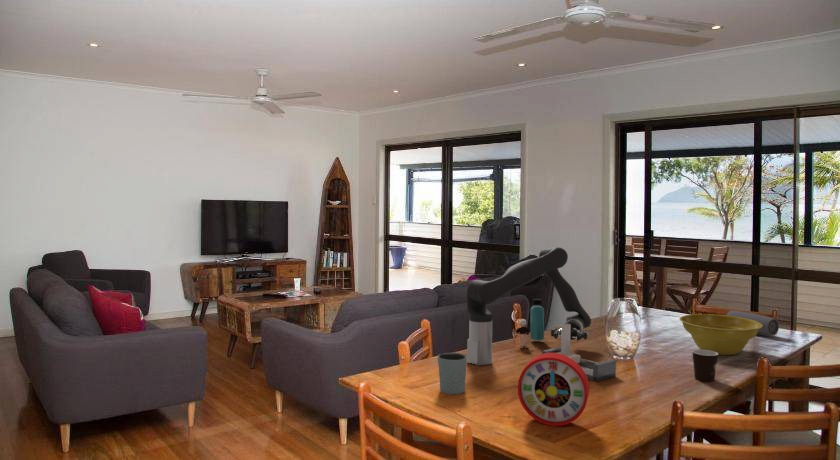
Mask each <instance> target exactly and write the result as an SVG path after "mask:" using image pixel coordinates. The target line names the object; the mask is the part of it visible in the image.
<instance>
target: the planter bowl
mask: <svg viewBox="0 0 840 460" xmlns="http://www.w3.org/2000/svg"><path fill="white" fill-rule="evenodd" d="M679 321H680V322H681V323H682V326H683V328H684V330H685V331H686V332H687V333H689V334H690V336H691V338H692V340H693V342H694V343H695V345H696V347H698V348H699V350H709V351H714V352H717V353H718V356H719V355H720V356H733V355H737V354H739V353H741V352H742V351H743V350H744V349H745V347H746V345H747V344H748V343H749V340H752V339H753V338H755V337H756V336H758V335H757V333H758V331H759V329H760V328H762V327H763V325H762V324H761V323H759V322H757V321H754V320H750V319H746V318H741V317H735V316H727V314H725V315H724V314H716V313H715V314H711V313H710V314H709V313H695V314H694V313H693V314H686V315H682V316H680V317H679Z"/></svg>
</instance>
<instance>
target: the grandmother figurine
mask: <svg viewBox="0 0 840 460" xmlns="http://www.w3.org/2000/svg"><path fill="white" fill-rule="evenodd" d="M518 324H519V326H520V327H517V328H516V329H515V332H514V336H515V337H516V336H517V335H518V349H519V348H520V349H523V348H525V349H528V348H529V344H528V343H529V342H528V336H529V337H530V336H531V333H530V328H528V327H526V325H527V320H526V319H524V318H521V319H519V322H518Z"/></svg>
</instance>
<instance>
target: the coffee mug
mask: <svg viewBox="0 0 840 460" xmlns="http://www.w3.org/2000/svg"><path fill="white" fill-rule="evenodd" d="M691 355H692V361H693V373H694V380H695V381H698V382H702V383H703V382H704V383H714V382H715V378H716V377H715V376H716V371H717V366H718V365H717V364H718V358H719V355H718V353H717V352H714V351H709V350H701V349H694V350H692V354H691ZM713 381H714V382H713Z"/></svg>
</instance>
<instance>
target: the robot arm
mask: <svg viewBox="0 0 840 460" xmlns="http://www.w3.org/2000/svg"><path fill="white" fill-rule="evenodd" d="M568 256H569V255H568V253H567V251H566V250H565V249H564V248H562V247H560V246H559V247H558V246H554V247H546V248H543V249H541V250H540V252H539V254H538V257H536V258H531V259H526V260H523V261H519V262H518V263H515V264H514V265H511V266H509V267H508V268H507V269H506V270H505V272H504V273H503V275H501V277H498V278H496V279H493V280H489V281H487V280H481V279H474V280H471V281H470V282H469V284H468V286H467V288H466V305H467V307H466V309H467V314H468V317H469V321H468V322H469V324H468V325H469V327H468V328H469V329H468V331H469V332H468V333H469V337H468V338H467V340H466V341H467V343H466V345H467V346H466V347H467V348H466V349H467V350H466V354H467V355H466V356H467V364H471V363H472V364H471V365H474V364H475V366H487V365H491V364H492V363H493V313H492V312H491V311H490V310H489V309H488V307H487V306H486V305H490V304H492V303H494V302H495V301H497V300H499V299H500V298H501V297H504V295H507V294H508V293H510V292H512V291H514V290H516V289H518V288H521V287H523V286H525V285H527V284H528V283H531V282H532V281H534V280H536V279H538V278H540V277H542V276H543V275H545V274H546V275H547V277H548V279H549V280H550V281H551V284H552V285H553V286H554V288H555V290H556V292H557V294H558V296H559V299H560V302H561V304H562V306H563V308H564V310H565V312H567V313H568V312H569V313H571V312H573V313H574V312H575V313H574V314H571V315H568V316H567V317H566V318H565V319H566V320H565V321H566V322H564V324H570V325H571V332H570V341H574V340H576V341H577V342H578V341H580V340H583V339H584V340H587V339H588V337H589V336H588V335H589V330H588V329H586V328H589V327H591V325H592V319H591V317H590V315H589V314H588V313H587V311H586V310H585V308H584V307H583V306H582V304H581V303H580V301H579V299H578V296H577V294H576V291H575V289H574V288H573V287H572V285H571V284H570V283H569V282H568V281H567V280H566V279H565V278H564V277H563V275H562V274H561V273H560V271H559V269H560V268H563V267H564V266H566V264H567V262H568V259H569V257H568ZM550 337H553V338H554V339H558V338H561V328H558V327H553V328H551V330H550Z"/></svg>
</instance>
